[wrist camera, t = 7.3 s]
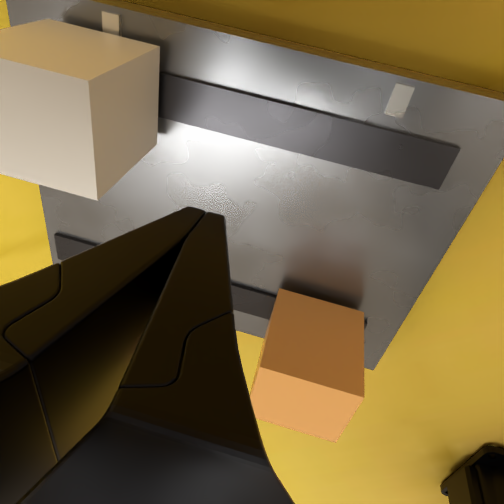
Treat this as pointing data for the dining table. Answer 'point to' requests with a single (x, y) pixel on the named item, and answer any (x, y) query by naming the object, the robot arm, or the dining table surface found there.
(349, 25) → the dining table surface
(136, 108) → the block
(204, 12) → the dining table surface
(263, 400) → the block
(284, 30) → the dining table surface
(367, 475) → the dining table surface
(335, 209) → the console
